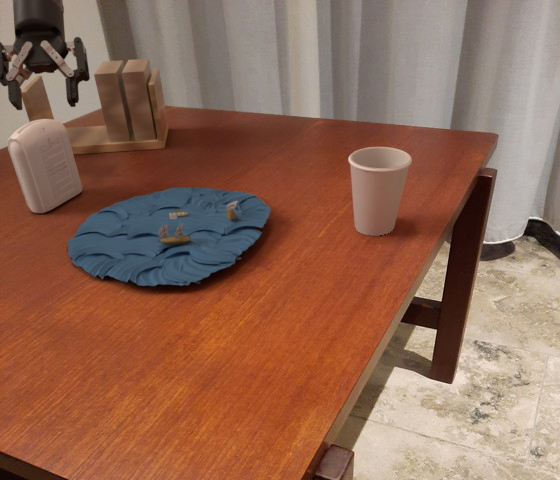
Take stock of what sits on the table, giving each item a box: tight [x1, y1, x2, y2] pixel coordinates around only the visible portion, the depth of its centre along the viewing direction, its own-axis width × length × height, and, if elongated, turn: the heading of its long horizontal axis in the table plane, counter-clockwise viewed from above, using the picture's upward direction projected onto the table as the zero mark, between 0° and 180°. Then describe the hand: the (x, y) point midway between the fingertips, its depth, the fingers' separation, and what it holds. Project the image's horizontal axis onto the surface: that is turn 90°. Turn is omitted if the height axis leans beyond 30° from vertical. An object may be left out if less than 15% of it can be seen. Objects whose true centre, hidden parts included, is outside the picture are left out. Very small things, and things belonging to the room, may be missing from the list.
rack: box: [21, 58, 169, 155], centre depth 108 cm, size 24×12×14 cm, turn 95°
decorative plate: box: [67, 186, 272, 287], centre depth 78 cm, size 30×30×5 cm
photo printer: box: [6, 119, 83, 214], centre depth 87 cm, size 10×4×12 cm, turn 157°
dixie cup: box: [348, 146, 413, 237], centre depth 77 cm, size 8×8×10 cm
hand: (44, 106), depth 89 cm, fingers open, 8 cm apart
